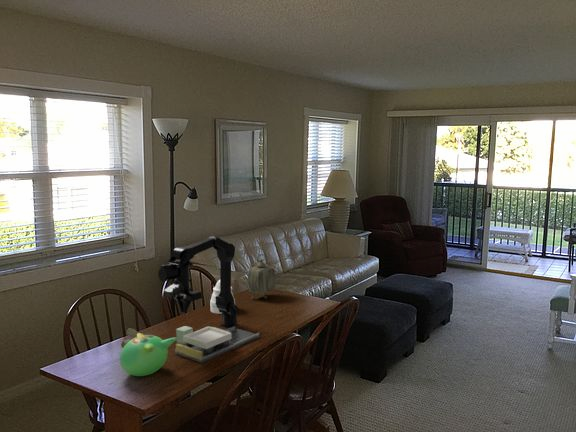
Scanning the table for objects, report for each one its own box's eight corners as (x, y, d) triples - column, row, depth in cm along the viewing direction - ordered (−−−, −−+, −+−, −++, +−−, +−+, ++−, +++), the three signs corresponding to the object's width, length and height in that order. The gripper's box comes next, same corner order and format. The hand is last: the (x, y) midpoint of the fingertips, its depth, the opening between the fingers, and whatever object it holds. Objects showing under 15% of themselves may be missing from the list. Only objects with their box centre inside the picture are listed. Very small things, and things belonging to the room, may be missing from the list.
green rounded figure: (144, 360, 195) (141, 324, 194) (179, 366, 189) (177, 329, 187) (111, 379, 179) (109, 340, 177) (149, 387, 173) (147, 347, 171)
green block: (176, 342, 214) (176, 328, 213) (185, 338, 218) (185, 325, 217) (184, 344, 211) (183, 331, 210) (193, 341, 215) (192, 328, 214)
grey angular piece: (128, 352, 200) (121, 328, 203) (121, 357, 204) (113, 334, 206) (146, 346, 207) (139, 324, 210) (138, 351, 211) (131, 329, 213)
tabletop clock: (264, 293, 286) (263, 251, 283) (276, 296, 281) (275, 253, 278) (248, 300, 275) (247, 255, 272) (261, 302, 269) (259, 257, 266)
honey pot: (240, 310, 257) (239, 276, 255) (218, 315, 249) (217, 280, 247) (226, 304, 267) (225, 272, 265) (206, 309, 259) (204, 276, 257)
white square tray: (183, 348, 204) (183, 335, 203) (210, 337, 215) (210, 325, 215) (206, 356, 195) (206, 343, 194) (233, 344, 207) (233, 332, 206)
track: (175, 353, 202) (174, 344, 201) (234, 329, 228) (233, 321, 227) (201, 363, 192) (200, 353, 191) (259, 337, 218) (259, 328, 218)
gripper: (153, 277, 210) (155, 313, 212) (182, 284, 199) (183, 321, 201) (174, 272, 219) (175, 306, 221) (202, 278, 208) (204, 314, 209)
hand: (183, 312), depth 213 cm, fingers closed
